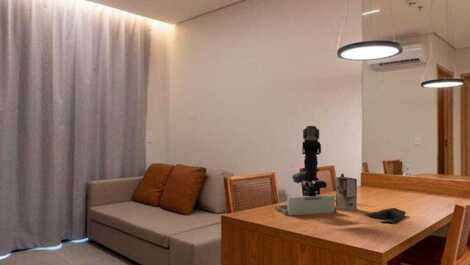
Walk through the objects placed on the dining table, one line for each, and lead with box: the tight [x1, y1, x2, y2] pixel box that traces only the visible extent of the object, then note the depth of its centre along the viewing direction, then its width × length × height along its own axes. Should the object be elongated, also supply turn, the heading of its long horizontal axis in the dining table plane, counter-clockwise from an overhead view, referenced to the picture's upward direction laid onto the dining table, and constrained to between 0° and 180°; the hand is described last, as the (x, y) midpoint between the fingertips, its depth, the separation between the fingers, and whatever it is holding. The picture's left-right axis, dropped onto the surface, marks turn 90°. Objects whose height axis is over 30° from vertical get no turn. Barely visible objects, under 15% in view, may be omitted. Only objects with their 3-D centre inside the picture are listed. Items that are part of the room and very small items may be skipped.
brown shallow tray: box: [274, 204, 337, 216], centre depth 165 cm, size 12×26×3 cm, turn 107°
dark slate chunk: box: [364, 207, 407, 225], centre depth 159 cm, size 15×22×5 cm
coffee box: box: [335, 176, 358, 211], centre depth 174 cm, size 9×6×16 cm
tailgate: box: [287, 194, 336, 216], centre depth 159 cm, size 2×24×8 cm, turn 107°
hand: (309, 200), depth 160 cm, fingers closed
